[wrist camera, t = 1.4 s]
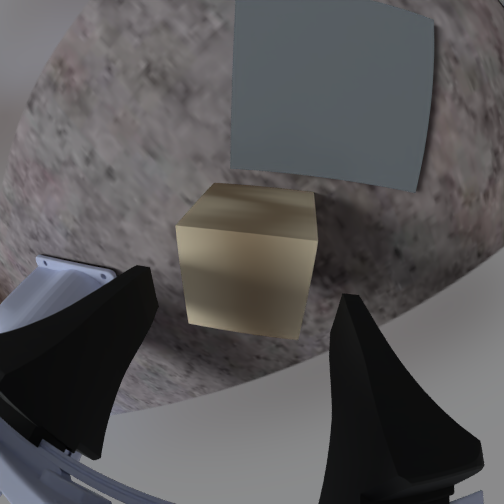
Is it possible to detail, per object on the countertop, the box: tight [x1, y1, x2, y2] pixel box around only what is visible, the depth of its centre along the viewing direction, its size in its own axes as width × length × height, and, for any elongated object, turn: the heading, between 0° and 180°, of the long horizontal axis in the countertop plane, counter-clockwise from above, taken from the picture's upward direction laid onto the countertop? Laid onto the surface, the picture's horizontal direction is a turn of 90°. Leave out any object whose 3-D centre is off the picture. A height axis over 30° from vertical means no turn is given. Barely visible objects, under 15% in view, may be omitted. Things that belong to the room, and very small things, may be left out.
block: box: [176, 183, 318, 340], centre depth 13 cm, size 5×5×5 cm
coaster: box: [230, 0, 434, 193], centre depth 10 cm, size 9×9×1 cm
